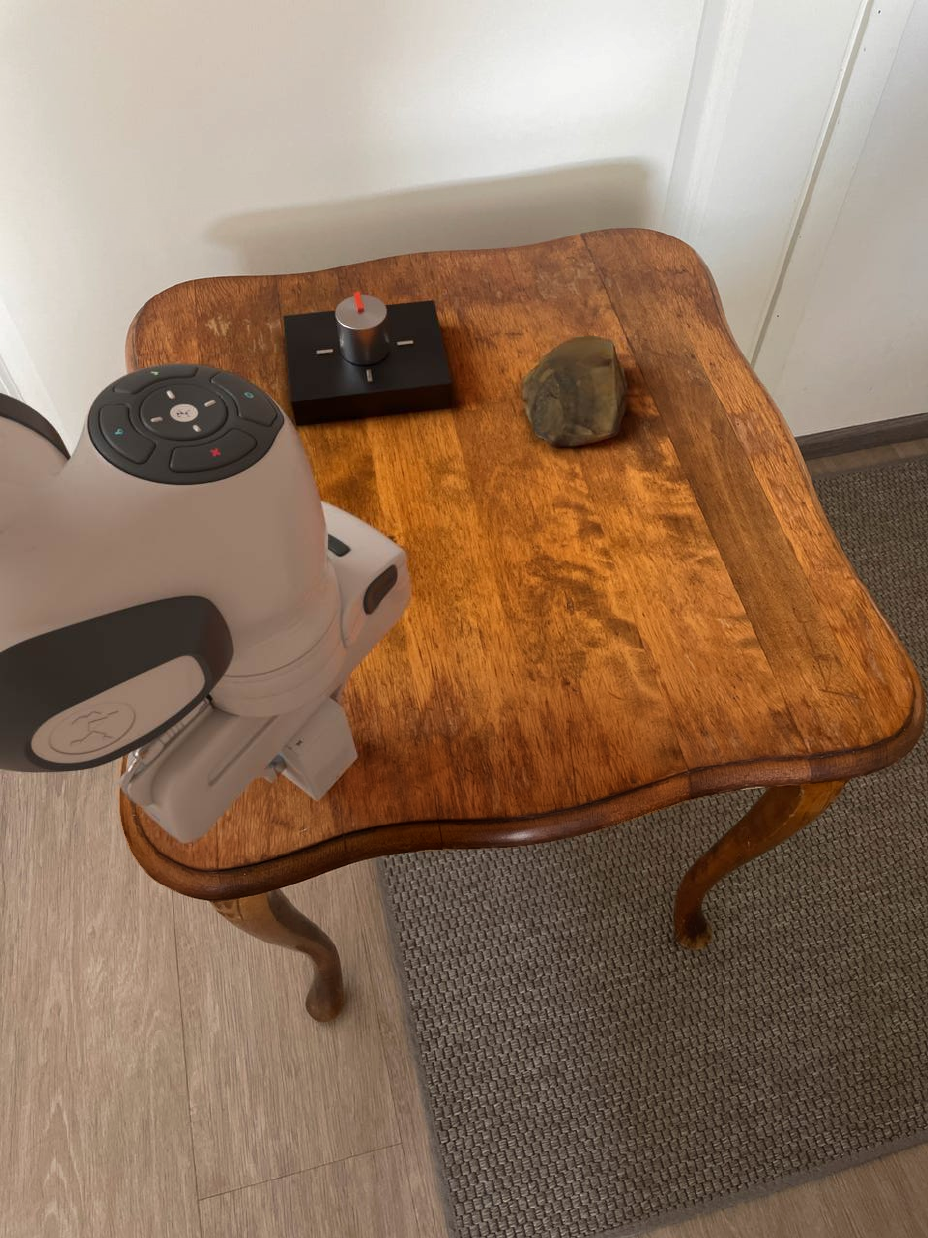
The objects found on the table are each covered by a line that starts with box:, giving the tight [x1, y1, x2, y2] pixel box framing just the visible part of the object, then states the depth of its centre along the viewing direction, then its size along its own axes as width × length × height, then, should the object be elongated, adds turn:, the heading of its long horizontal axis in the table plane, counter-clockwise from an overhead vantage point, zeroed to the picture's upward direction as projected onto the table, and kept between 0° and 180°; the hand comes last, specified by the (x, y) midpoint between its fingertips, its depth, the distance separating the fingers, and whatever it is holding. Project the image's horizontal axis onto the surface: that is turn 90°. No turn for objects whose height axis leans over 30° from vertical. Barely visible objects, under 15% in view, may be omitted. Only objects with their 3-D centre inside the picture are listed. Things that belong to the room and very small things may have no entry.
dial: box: [335, 291, 390, 365], centre depth 79 cm, size 4×4×4 cm
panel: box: [282, 299, 453, 427], centre depth 82 cm, size 14×11×3 cm
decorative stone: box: [521, 335, 628, 448], centre depth 80 cm, size 10×9×4 cm
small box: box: [278, 697, 359, 803], centre depth 59 cm, size 6×4×8 cm
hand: (300, 736), depth 59 cm, fingers closed on small box, 4 cm apart
